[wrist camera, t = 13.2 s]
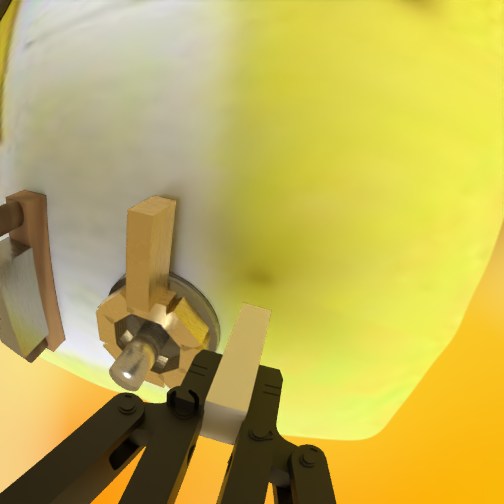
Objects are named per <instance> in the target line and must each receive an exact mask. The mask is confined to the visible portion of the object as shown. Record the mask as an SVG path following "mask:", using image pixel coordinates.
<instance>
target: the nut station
mask: <svg viewBox="0 0 504 504" xmlns="http://www.w3.org/2000/svg"><path fill="white" fill-rule="evenodd" d="M124 285H126V275H125V276H123V277H122V278H121V279H120V280H119V281H118V282H117V283H116V284H115V285H114V286H113V287H112V289H111V291H110V293H109V296H110V295H111V294H112V293H113V292H115V291H117V290H118V289H120V288H121V287H123V286H124ZM168 288H169V289H172V290H175V291H177V299H179V298H181V297H183V296H184V297H185V298H186V299H187V300H188V302H189V303H190V304H191V306H192V307H193V308H194V309H195V311H196V312H197V313H198V315H199V316H200V317H201V318H202V320H203V321H204V322H205V323H206V325H207V326H208V327H209V330H208V332H207V333H209V334H211V339H210V345H209V351H211V352H215V351H216V348H217V346H218V342H219V337H220V329H219V323H218V320H217V317H216V314H215V312H214V310H213V308H212V307H211V305H210V304H209V302H208V301H207V300H206V298H205V297H204V296H203V295H202V294H201V293H200V292H199V291H198V290H197V289H196V288H195V287H194V286H192V285H191V284H190V283H188V282H187V281H185V280H184V279H182V278H180V277H178V276H176V275H174V274H172V273H169V279H168ZM109 296H108V297H109ZM127 330H128V331H129V332H130V334H131V335H132V336H133V338H132V339H131V341H130V342H129V343H128V345H127V346H126V347H125V349H124V350H123V351H122V353H121V354H120V355H119V357H118V358H117V360H116V361H115V362H114V364H113V365H112V366H111V368H110V370H109V373H110V376H111V377H112V379H113V380H114V381H115V382H116V383H117V384H118V385H119V386H121V387H122V388H124V389H126V390H129V391H137V390H138V389H139V388H140V386H141V384H142V383H143V381H144V379H145V378H146V376H147V374H148V373H149V371H150V369H151V368H152V366H153V364H154V363H155V361H156V359H157V358H158V356H159V355H160V356H163V357H166V358H171V357H174V356H177V355H180V349H181V348H180V347H179V346H178V344H177V343H176V342H175V341H174V340H173V339H172V337H171V336H170V335H169V334H168V333H167V332H166V330H165V329H164V328H163V327H162V326H161V324H159V323H156V322H153V321H150V320H148V319H145V318H142V317H139V316H137V315H134V314H130V315H128V316H127Z"/></svg>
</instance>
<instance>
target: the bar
mask: <svg viewBox="0 0 504 504" xmlns="http://www.w3.org/2000/svg"><path fill="white" fill-rule="evenodd" d="M48 334H49V330H48V326H47V323H46V319H45V315H44V310H43V306H42V302H41V297H40V292H39V287H38V282H37V276H36V270H35V264H34V258H33V250H32V247H30V246H28V245H25V244H23V243H21V242H19V241H16V240H14V239H12V238H10V237H7V238H6V239H4V240H2V241H0V340H1V341H2V343H4V344H5V345H6V346H8V347H9V348H10V349H12V350H13V351H14V352H16V353H17V354H18V355H20V356H21V357H23V358H25V357H26V356H27V355H28V354H29V353H30V352H31V351H32V350H33V349H34V348H35V347H36V346H37V345H38V344H39V343H40V342H41V341H42V340H43V339H44V338H45V337H46V336H47V335H48Z"/></svg>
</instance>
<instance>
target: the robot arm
mask: <svg viewBox="0 0 504 504" xmlns="http://www.w3.org/2000/svg"><path fill="white" fill-rule="evenodd" d="M10 1H11V0H0V19H1V17H2V15H3V13H4V12H5V10H6V8H7V6H8V4H9V2H10ZM270 315H271V310H268V309H265V308H261V307H257V306H254V305H250V304H247V303H243V304H242V307H241V310H240V312H239V315H238V318H237V320H236V323H235V325H234V328H233V331H232V333H231V336H230V338H229V341H228V343H227V346H226V349H225V351H224V354H223V355H221V354H218V353H215V352H211V351H208V350H205V349H203V350H201V351H200V352H199V353H197V354H196V355H195V357H194V359H193V361H192V363H191V365H190V367H189V369H188V371H187V373H186V375H185V377H184V379H183V381H182V383H181V385H180V386H176V387H173V388H171V389H170V390H169V391H168V392H167V402H165V403H147V402H143V401H142V399H141V398H140V397H139V396H137V395H135V394H133V393H126V392H125V393H120V394H118V395H116V396H114V397H113V398H112V399H111V400H110V401H109V402H107V403H106V404H105V405H104V406H103V407H102V408H101V409H99V410H98V411H97V412H96V413H95V414H94V415H93V416H91V417H90V418H89V419H88V420H87V421H86V422H84V423H83V424H82V425H81V426H80V427H79V428H77V429H76V430H75V431H74V432H73V433H72V434H71V435H70V436H68V437H67V438H66V439H65V440H63V441H62V442H61V443H60V444H59V445H58V446H57V447H55V448H54V449H53V450H52V451H51V452H49V453H48V454H47V455H46V456H45V457H44V458H42V459H41V460H40V461H39V462H38V463H36V464H35V465H34V466H33V467H32V468H30V469H29V470H28V471H27V472H26V473H25V474H24V475H22V476H21V477H20V478H19V479H17V480H16V481H15V482H14V483H12V484H11V485H10V486H9V487H8V488H6V489H5V490H4V491H3V492H1V493H0V504H90V503H91V502H92V501H93V500H94V499H95V498H96V497H97V496H98V495H99V494H100V493H101V492H102V491H103V490H104V489H105V488H106V487H107V486H108V485H109V484H110V483H111V482H112V481H113V480H114V479H115V478H116V477H117V476H118V475H119V474H120V472H121V471H122V470H123V469H124V468H125V467H126V466H127V465H128V464H129V463H130V462H131V461H132V460H133V459H134V458H135V457H136V455H137V454H138V453H139V452H140V451H141V450H142V449H143V448H144V447H145V446H146V448H145V451H144V452H143V455H142V457H141V459H140V461H139V463H138V465H137V467H136V469H135V471H134V473H133V475H132V477H131V479H130V481H129V483H128V485H127V487H126V489H125V491H124V493H123V495H122V497H121V499H120V501H119V503H118V504H174V503H175V500H176V497H177V495H178V492H179V490H180V487H181V484H182V482H183V479H184V476H185V474H186V471H187V468H188V466H189V463H190V460H191V458H192V455H193V452H194V450H195V447H196V442H197V439H198V436H199V435H200V436H203V437H206V438H210V439H213V440H216V441H220V442H223V443H227V444H231V445H234V447H233V451H232V453H231V456H230V459H229V461H228V466H227V469H226V473H225V476H224V480H223V483H222V486H221V490H220V493H219V496H218V500H217V503H216V504H264V503H265V497H266V492H267V488H268V482H270V483H272V486H273V495H274V504H336V500H335V495H334V491H333V486H332V482H331V478H330V473H329V469H328V464H327V460H326V457H325V455H324V453H323V451H322V450H321V449H319V448H318V447H316V446H313V445H308V444H306V445H301V446H299V447H298V446H296V445H294V444H292V443H290V442H288V441H286V440H285V439H284V438H283V437H282V436H281V435H280V434H279V432H278V431H277V427H276V421H277V415H278V408H279V402H280V395H281V388H282V382H283V378H282V375H281V372H280V370H278V369H274V368H270V367H266V366H263V365H259V363H260V358H261V354H262V350H263V345H264V341H265V337H266V332H267V328H268V324H269V319H270Z"/></svg>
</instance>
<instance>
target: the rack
mask: <svg viewBox="0 0 504 504" xmlns="http://www.w3.org/2000/svg"><path fill="white" fill-rule="evenodd" d="M8 232H9V236H10V238H12V239H14V240H16V241H19V242H21V243H23V244H25V245H28V246H30V247H32V250H33V258H34V264H35V270H36V276H37V282H38V287H39V292H40V297H41V302H42V306H43V310H44V315H45V319H46V323H47V326H48V330H49V334H48V335H47V336H46V337H45V338H44V339H43V340H42V341H41V342H40V343H39V344H38V345H37V346H36V347H35V348H34V349H33V350H32V351H31V352H30V353H29V354H28V355H27V356H26V357H25V359H26V360H27V361H28V362H30V363H32V362H33V361H34V360H35V359H36V358H37V357H38V356H39V355H40V354H41V353H42V352H43V351H44V350H45V348H47V349H49V350H51V351H53V352H54V351H55V350H56V349H57V348H58V347H59V345H60V344H61V343H62V342H63V341H64V340H65V336H64V332H63V328H62V323H61V319H60V314H59V309H58V304H57V299H56V293H55V287H54V281H53V274H52V267H51V259H50V251H49V240H48V228H47V211H46V195H42V194H38V193H34V192H30V191H27V190H23V191H20V192H18V193H15V194H13V195H10V196H8V197H6V204H3V205H1V206H0V237H1V236H3V235H4V234H6V233H8Z"/></svg>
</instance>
